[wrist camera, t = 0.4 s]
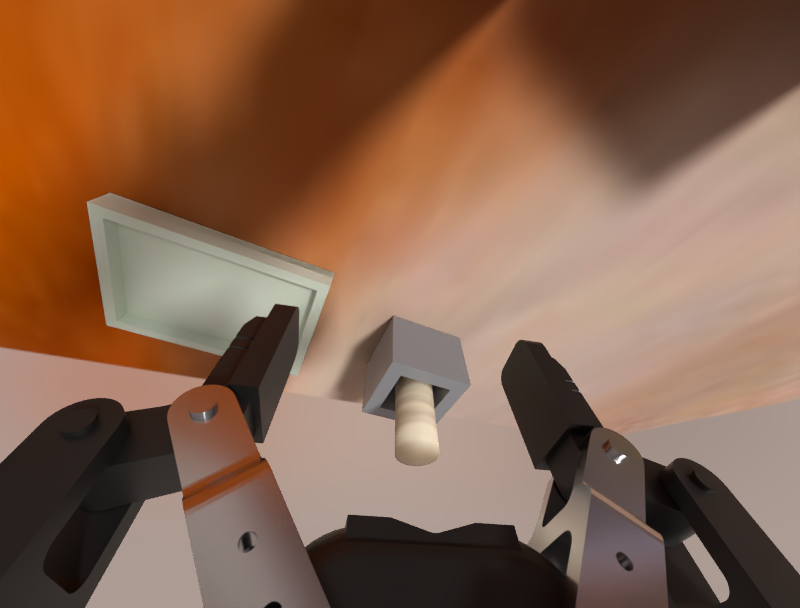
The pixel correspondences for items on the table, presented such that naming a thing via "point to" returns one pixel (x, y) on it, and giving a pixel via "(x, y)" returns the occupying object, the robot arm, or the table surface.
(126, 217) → the sage tray
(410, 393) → the birch peg
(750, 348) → the table surface
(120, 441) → the robot arm
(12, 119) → the table surface
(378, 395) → the grey cup
